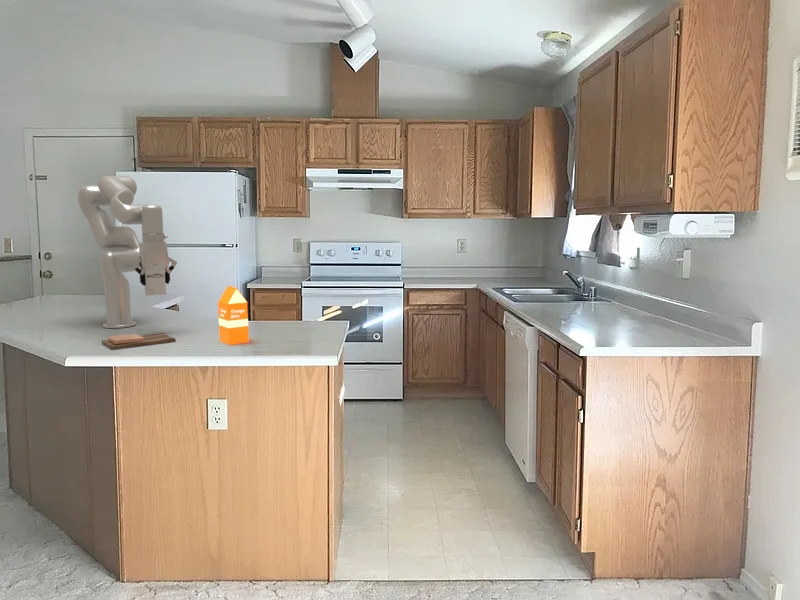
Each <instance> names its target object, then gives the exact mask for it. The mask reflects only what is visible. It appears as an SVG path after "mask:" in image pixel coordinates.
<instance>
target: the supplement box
mask: <svg viewBox="0 0 800 600" xmlns="http://www.w3.org/2000/svg"><path fill="white" fill-rule="evenodd" d="M144 275H145V278H146V285H144V294H145V296H146V297H148V296H161V295H163V296H164V295H167V286H166V283H165V265H164V262H156V263H154V264H153V265H152V266H151V267H150V268H145V273H144Z"/></svg>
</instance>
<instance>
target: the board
mask: <svg viewBox="0 0 800 600" xmlns="http://www.w3.org/2000/svg"><path fill="white" fill-rule="evenodd" d="M141 336H142V337H144V338H145V341H143V342H132V343H121V344H114V343H113V342H111V341H109V340H108V339H102V340H101V341H100V342H101V344H102V346H104V347H106V348H108V349H110V350H111V351H115V350H120V349H121V350H123V349H129V348H137V347H145V346H154V345H160V344H170V343H176V338H175V337H173V336H171V335H168V334H166V333H163V332H161V333H152V334H145V335H141Z"/></svg>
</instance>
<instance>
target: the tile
mask: <svg viewBox="0 0 800 600" xmlns="http://www.w3.org/2000/svg"><path fill="white" fill-rule="evenodd" d="M107 340H109V341H111V342H113V343H114V344H121V343H132V342H143V341H145V338H144V337H142V335H139V334H137V333H131V334H119V335H107Z"/></svg>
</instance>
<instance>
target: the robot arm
mask: <svg viewBox="0 0 800 600" xmlns="http://www.w3.org/2000/svg"><path fill="white" fill-rule="evenodd" d="M137 186H138V185H137V182H136V181H135V180H134V178H133V177H131V176H127V175H105V176H103V177H101V178H100V179H99V180H98V182H97V184H90V185H89V184H88V185H84V186H82V187H81V188H80V189H79V190H78V193H77V201H78V205H79V208H80V210H81V213H82V214H83V216H84V217H85V218H86V220H87V222H88V225H89V226H90V229H91V231H92V235H93V237H94V240H95V242H96V243H95V244H96V245H97V246H98V247H99V249H101V250H103V252H101V254H100V256H99V264H100V269H101V273H102V279H103V289H104V301H105V302H104V304H105V316H106V317H105V318H106V319H105V320H106V322H105V323H103V324H102V327H103V328H104V329H105V328H106V329H123V328H130V327H134V326H136V324H137V322H136V321H134V320H132V309H131V307H132V306H131V294H130V293H131V292H130V282H129V280H128V278H126V276H125V275H124V274H123V273H132V272H137V273H138V275H139V282H140V284H141V285H142V286H145V285H146V278H145V275H144V273H145V268H150V267H151V266H152V265H153V264H154V263H156V262H164V265H165V283H166V284H167V285H169V284H170V282H171V273H172V271H173V270H174V269H175V267H176V266H177V264H178V262H177V261H176V260H174V259H173V258H171V257H169V251H168V246H167V242H166V241H165V239H168V234H165V233H164V220H163V219H164V217H163V208H162V206H160V205H156V204H140V203H139V204H133V202H134V200H135V195H136V194H137V190H138V187H137ZM104 206H106V207H107V206H109V207H110V211H111V214H112V217H113V218H115V219H116V220H117V221H118V222H119V223H121V224H123V225H126V226H121V225H120V226H117V225H116V226H115V225H114V223H113V222H112V218H111V216H110V215H109V214H108V213H107V211H105V210H104V209H102V208H101V207H104ZM127 225H128V226H127ZM129 225H141V232H142V233H141V236H142V241H139V239H138V236H137V234H136V231H134V229H133V228H131V227H130V226H129ZM170 263H171V265H170ZM169 265H170V266H169Z"/></svg>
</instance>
